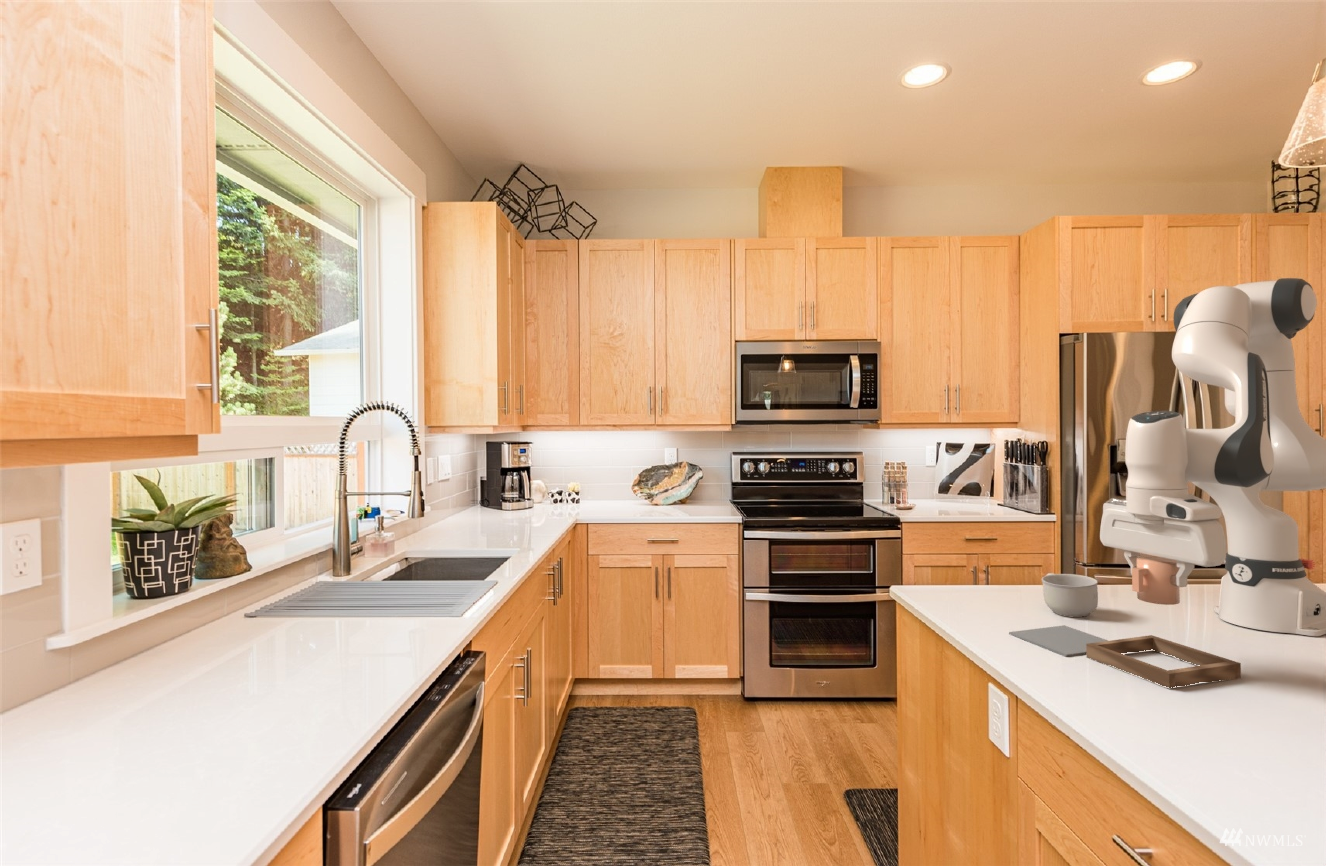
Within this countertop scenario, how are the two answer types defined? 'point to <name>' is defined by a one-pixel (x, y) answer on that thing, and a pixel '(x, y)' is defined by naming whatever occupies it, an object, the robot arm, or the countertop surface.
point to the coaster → (1059, 639)
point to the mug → (1155, 580)
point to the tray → (1206, 672)
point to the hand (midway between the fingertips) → (1158, 580)
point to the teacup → (1070, 594)
